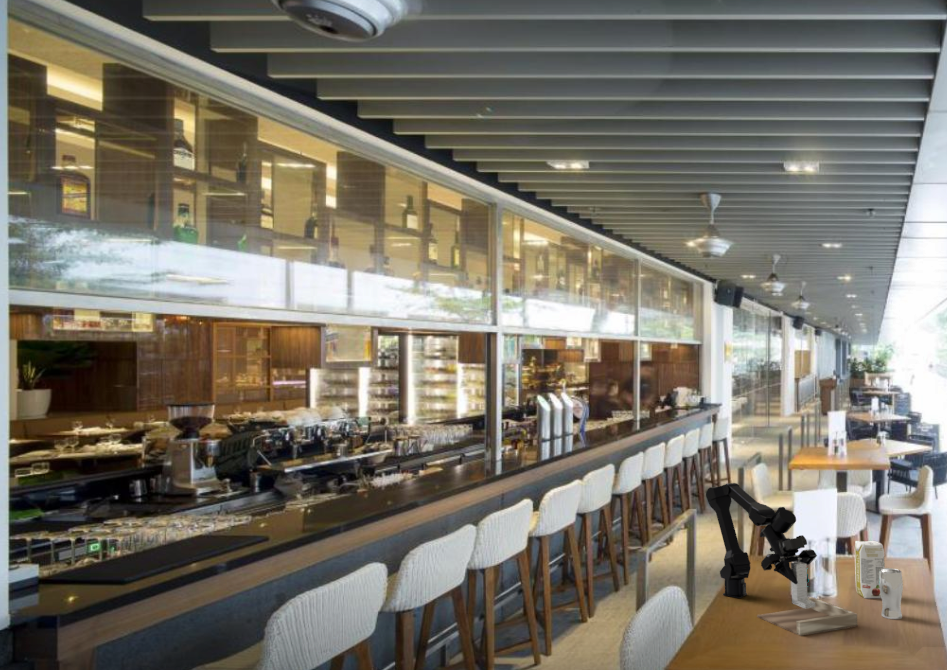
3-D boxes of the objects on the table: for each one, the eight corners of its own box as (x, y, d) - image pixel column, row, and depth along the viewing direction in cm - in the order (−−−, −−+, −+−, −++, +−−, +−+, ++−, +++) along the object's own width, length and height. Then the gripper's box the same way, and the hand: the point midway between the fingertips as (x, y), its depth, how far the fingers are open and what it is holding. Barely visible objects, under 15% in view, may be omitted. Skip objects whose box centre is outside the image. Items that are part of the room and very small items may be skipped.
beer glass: (879, 618, 268) (878, 571, 268) (880, 612, 274) (878, 566, 274) (903, 621, 264) (902, 574, 265) (903, 614, 271) (902, 569, 271)
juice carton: (887, 599, 288) (886, 544, 289) (863, 599, 288) (861, 544, 289) (877, 592, 296) (876, 539, 296) (853, 593, 296) (852, 540, 296)
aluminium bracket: (792, 603, 266) (791, 563, 266) (801, 601, 267) (801, 561, 267) (805, 608, 260) (804, 567, 260) (815, 607, 261) (814, 566, 262)
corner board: (757, 616, 271) (756, 604, 271) (811, 608, 279) (811, 596, 279) (800, 635, 252) (799, 622, 252) (857, 626, 260) (857, 613, 260)
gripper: (766, 529, 266) (790, 572, 256) (812, 524, 272) (838, 566, 262) (750, 548, 273) (774, 591, 263) (795, 543, 280) (820, 584, 269)
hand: (802, 582), depth 264 cm, fingers closed on aluminium bracket, 4 cm apart
